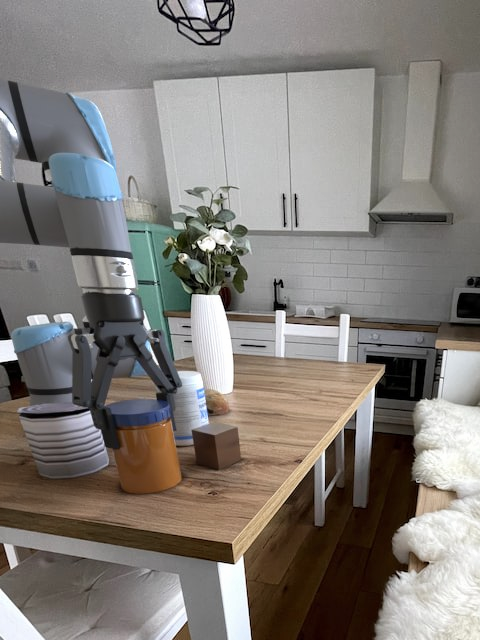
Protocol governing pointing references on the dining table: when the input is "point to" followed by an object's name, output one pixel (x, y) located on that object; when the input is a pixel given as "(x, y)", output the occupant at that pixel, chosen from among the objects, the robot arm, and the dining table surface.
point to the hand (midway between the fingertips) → (142, 438)
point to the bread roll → (216, 402)
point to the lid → (139, 412)
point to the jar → (147, 457)
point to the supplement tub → (189, 407)
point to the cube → (216, 445)
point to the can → (63, 440)
